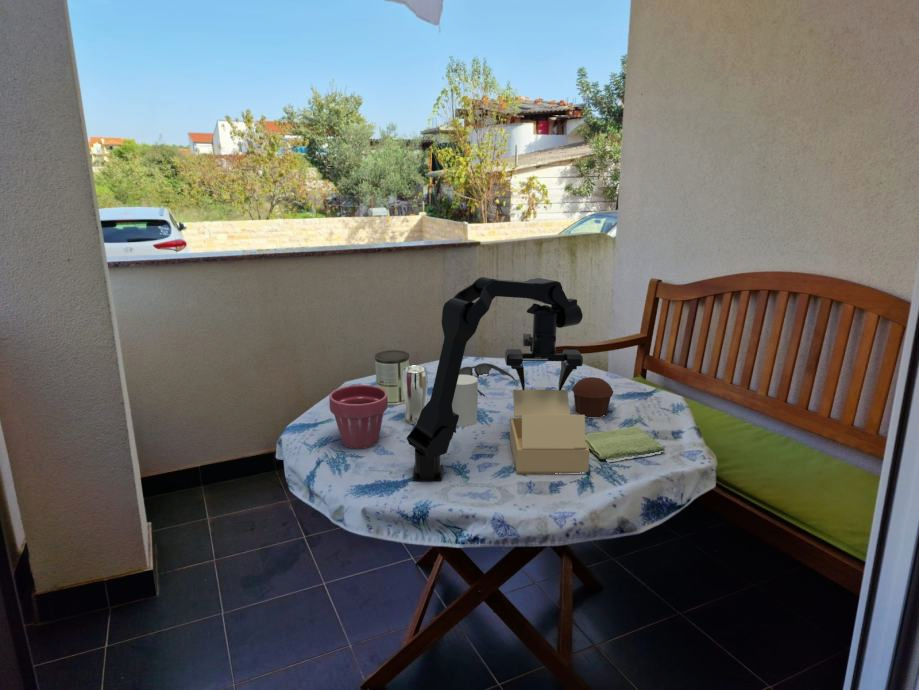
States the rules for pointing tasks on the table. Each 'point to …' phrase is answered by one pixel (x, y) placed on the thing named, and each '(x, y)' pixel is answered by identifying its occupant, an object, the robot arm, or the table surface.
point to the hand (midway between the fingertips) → (541, 390)
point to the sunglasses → (483, 371)
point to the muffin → (592, 397)
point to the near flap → (553, 431)
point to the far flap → (540, 402)
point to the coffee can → (391, 374)
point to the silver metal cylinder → (414, 391)
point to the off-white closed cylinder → (466, 400)
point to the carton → (545, 456)
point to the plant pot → (359, 414)
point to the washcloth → (621, 443)
